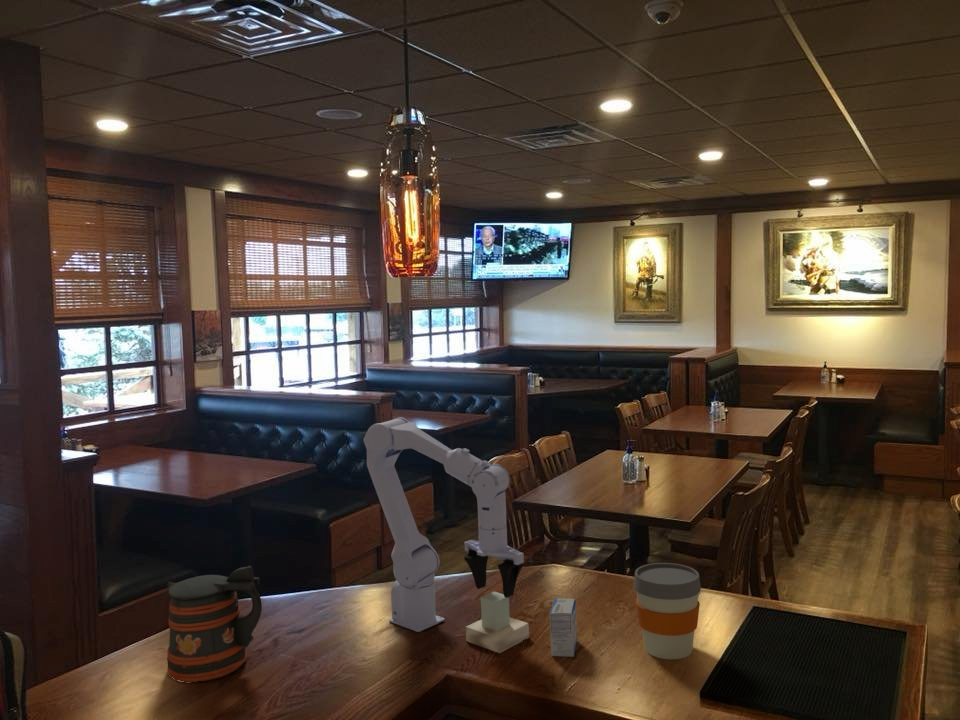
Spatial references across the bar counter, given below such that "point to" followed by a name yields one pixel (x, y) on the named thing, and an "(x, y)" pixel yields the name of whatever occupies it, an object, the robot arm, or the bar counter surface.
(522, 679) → the bar counter surface
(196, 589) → the beer stein
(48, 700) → the bar counter surface
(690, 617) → the reusable coffee cup
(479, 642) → the birch block
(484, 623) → the sage block
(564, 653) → the medicine box
